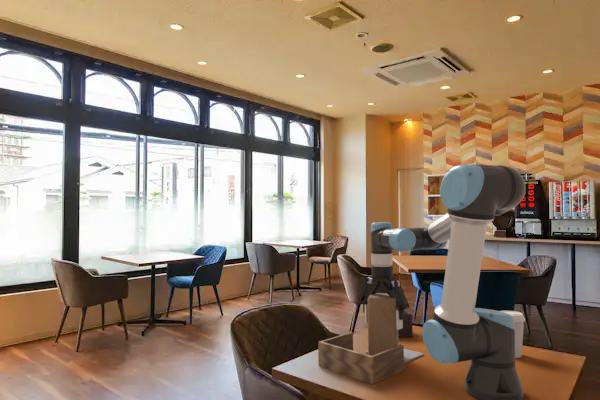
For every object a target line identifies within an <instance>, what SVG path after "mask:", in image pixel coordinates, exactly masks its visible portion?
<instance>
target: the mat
mask: <svg viewBox="0 0 600 400" xmlns="http://www.w3.org/2000/svg"><path fill="white" fill-rule="evenodd" d="M365 354H366V355H369V356H372V355H371V354H369V352H368V350H367V351H365ZM422 356H424V353H422V352H419V351H414V350H412V349H407V348H404V365H405V364H406V363H409V362H411V361H413V360H416V359H418V358H420V357H422Z"/></svg>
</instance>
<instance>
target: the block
mask: <svg viewBox="0 0 600 400" xmlns="http://www.w3.org/2000/svg"><path fill="white" fill-rule="evenodd" d="M396 295H397V293H396ZM396 310H398V308H397V307H396V298H392V297H390V296H389V295H388V294H387V293H386V292H376V293H375V294H371V295H370V296H369V297H368V323H367V341H368V342H367V343H368V345H367V346H368V347H367V348H368V349H367V351H368V352H369V354H368V355H370V354H371V355H370V356H372V355H375V354H378V353H380V352H383V351H385V350H388V349H391V348H393V347H396V346H399V345H400V344H399V340H400V339H399V338H398V330H397V329H396Z"/></svg>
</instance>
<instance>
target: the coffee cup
mask: <svg viewBox="0 0 600 400" xmlns="http://www.w3.org/2000/svg"><path fill="white" fill-rule="evenodd" d="M499 311H500V312H504V313H507V314H509V315H511V316H512V318H513V320H514V328H515V359H519V358H522V355H523V341H524V324H525V322H526V318H525V315H524V314H523V313H522V312H519V311H515V310H499Z"/></svg>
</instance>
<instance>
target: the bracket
mask: <svg viewBox="0 0 600 400" xmlns="http://www.w3.org/2000/svg"><path fill="white" fill-rule="evenodd" d="M317 344H318V346H317V347H318V348H317V350H318V352H317V353H318V355H317V356H318V366H319V367H322V368H325V369H327V370H330V371H332V372H336V373H339V374H340V375H344V376H347V377H350V378H353V379H356V380H358V381H361V382H365V383H367V384H370V385H374V384H377V383H379V382H380V381H383V380H384V379H388V378H389V377H391V376H393V375H396V374H399V373H400V372H403V371H404V370H405V364H404V349H405V348H404V344H399V346H396V347H393V348H391V349H388V350H385V351H383V352H380V353H378V354H375V355H370V354H366V353H362V352H360V351H355V350H354V332H352V331H351V332H349V331H348V332H347V333H343V334H340V335H336V336H334V337H329V338H327V339H323V340H319V341H318V343H317Z"/></svg>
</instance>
